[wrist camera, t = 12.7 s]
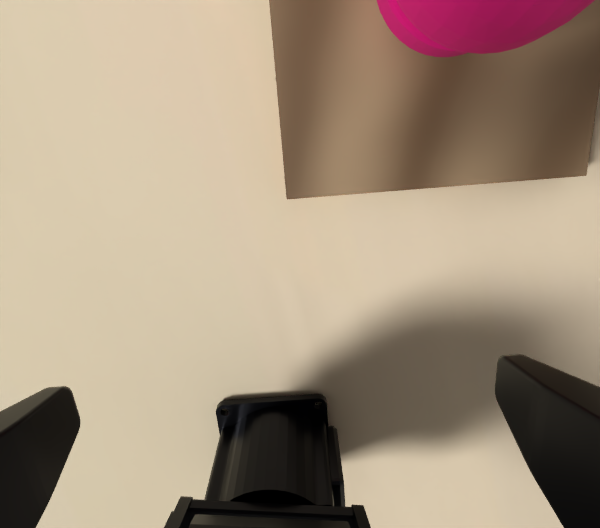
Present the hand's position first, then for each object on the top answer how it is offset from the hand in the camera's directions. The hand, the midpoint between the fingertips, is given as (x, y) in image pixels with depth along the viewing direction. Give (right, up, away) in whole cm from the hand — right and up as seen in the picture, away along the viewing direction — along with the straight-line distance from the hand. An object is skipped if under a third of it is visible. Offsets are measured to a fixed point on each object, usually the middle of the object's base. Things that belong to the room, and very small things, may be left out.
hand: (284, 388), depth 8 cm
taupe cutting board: (+6, +13, +9) cm, 17 cm away
